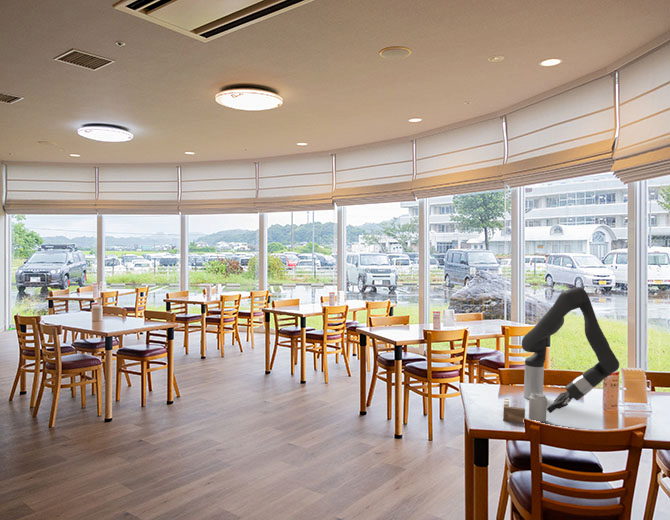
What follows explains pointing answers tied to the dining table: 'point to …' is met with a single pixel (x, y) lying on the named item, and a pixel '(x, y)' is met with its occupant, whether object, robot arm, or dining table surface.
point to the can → (537, 407)
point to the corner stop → (513, 413)
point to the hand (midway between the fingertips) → (548, 410)
